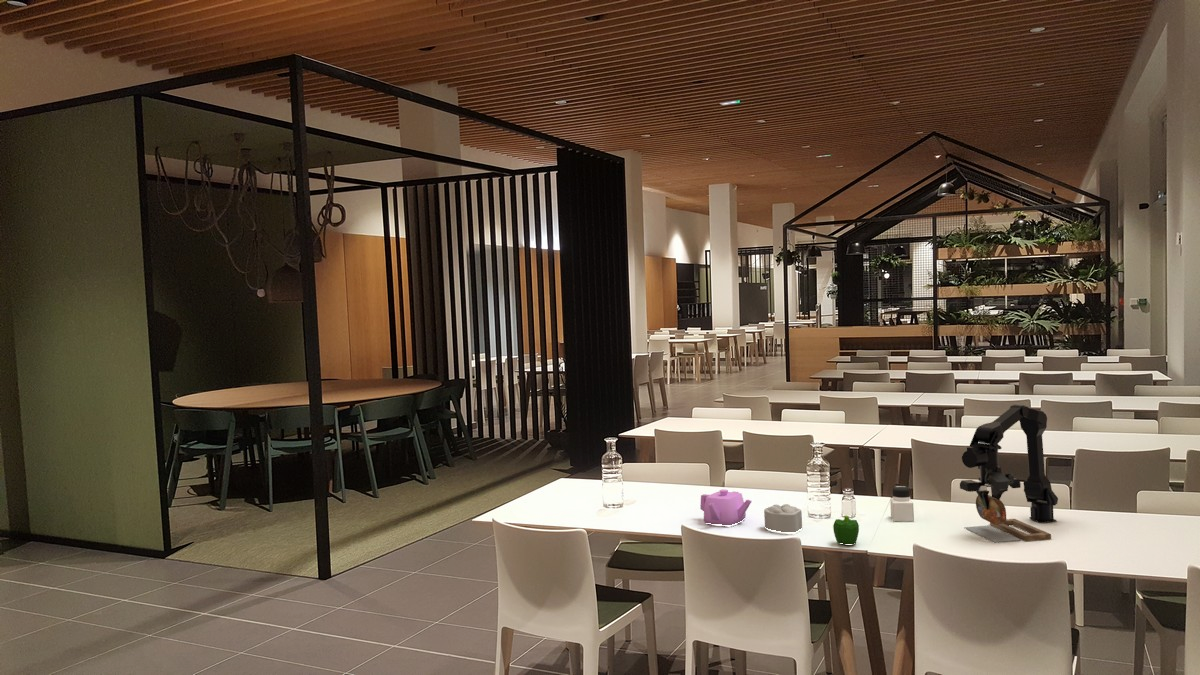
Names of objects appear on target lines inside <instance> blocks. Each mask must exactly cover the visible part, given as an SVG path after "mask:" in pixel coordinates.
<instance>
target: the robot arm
mask: <svg viewBox="0 0 1200 675" xmlns="http://www.w3.org/2000/svg"><path fill="white" fill-rule="evenodd" d="M1018 422H1019V424H1020V429H1021V430H1022V431H1023V433H1024V434H1025V436H1026V447H1027V448H1026V449H1027V462H1028V476H1027V478H1026V479H1025V480H1024V481H1023V492H1024V494H1025V498H1026V502H1027V503H1031V506H1030V509H1029V510H1030V511H1029V512H1030V516H1029V518H1028V519H1029V520H1032V521H1035V522H1037V523H1041V524H1042V523H1053V522H1057V519H1055V518H1054V506H1057V505H1058V502H1059V498H1058V496H1057V495H1056V494H1055V492H1054V491H1053V490H1052V483H1051V481H1050V480H1049V478H1048V477H1047V476H1046V470H1045V458H1044V443H1043V442H1044V441H1043V434H1044V432H1045V430H1046V429H1047V426H1048V425H1047V422H1048V416H1047V414H1046V413H1045V412H1044V411H1042V410H1037V409H1034V408H1030V407H1028V406H1026V405H1024V404H1013V405H1010V407H1009V408H1008V409H1007V410H1006V411H1005V412H1004V413H1002V414H1001V415H1000V416H998V417H997V418H995V420H993V421H991V422H987V423H983V424H981V425H979V426H978V427H976V429H975V432H974V434H973V437H972V438H971V441H970V443H969V446H967V447H966V451H963V453H962V456H961V462H962V463H963V465H964V466H965V467H966V468H969V469H972V468H977V469H978V470H980V471H979V472H980V474H979V477H977V478H978V481H975V480H973V479H964V480H963V479H962V480H960V482H959V489H961V490H963V491H965V492H969V493H970V492H972V493H973V492H976V494H977V496H978V495H979V497H980V499H981V501H982V503H983V505H984V507H985V509H986V510H988V507H989V505H988V495H989V493H991V496H992V497H994V498H996V499H999V500H1000V501H1001V498H1002V496H1003V494H1004V493H1005V492H1008V491H1009V487H1010V488H1011V489H1020V488H1021V480H1019V478H1015V477H1014V476H1015V475H1014V474H1012V473H1011V472H1010V473H1002V468H1001V467H1000V466H999V450H1002V446H1001V445H999V443H1000V442H1001V441H1002V440H1003V438H1004V433H1005V432H1006V431H1009V429H1010V428H1011V427H1012V426H1014V425H1015V424H1017V423H1018ZM987 488H990V490H988V489H987ZM990 491H991V492H990Z"/></svg>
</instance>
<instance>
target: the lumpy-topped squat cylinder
mask: <svg viewBox="0 0 1200 675" xmlns="http://www.w3.org/2000/svg"><path fill="white" fill-rule="evenodd" d="M763 511H764V512H763V516H764V528H765V527H766V528H768V529H771V530H776V531H781V532H796V531H798V530H799V529H801V528H802V529H803V513H802V509H800V508H797V506H793V505H792V506H791V505H790V504H789V503H785V504H782V505H780V504H772V505H771V506H768V507H766V508H764V510H763Z"/></svg>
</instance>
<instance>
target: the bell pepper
mask: <svg viewBox="0 0 1200 675" xmlns="http://www.w3.org/2000/svg"><path fill="white" fill-rule="evenodd" d="M832 528H833V535H834V538H835V540H836V542H837V543H843V544H854V543H855V544H856V543H857V540H858V536H859V530H860V524H859V523H858V521H857V519H850V517H849V515H844V518H843V519H840V518H837V519H835V520H834V523H833V525H832ZM843 544H842V545H843ZM855 544H854V545H855Z"/></svg>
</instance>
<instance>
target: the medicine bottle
mask: <svg viewBox="0 0 1200 675" xmlns="http://www.w3.org/2000/svg"><path fill="white" fill-rule="evenodd" d="M889 501H890V502H889V503H890V505H889V506H890V517H891V519H892V521H893V522H894V521H913V522H914V521H915V514H914V512H915V511H914V502H913V500H912V499H911V489H910V488H909V487H907V486H905V485H903V486H902V485H900V486H899V485H898V486H895V487H893V488H892V497H891V498H890V499H889Z"/></svg>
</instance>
